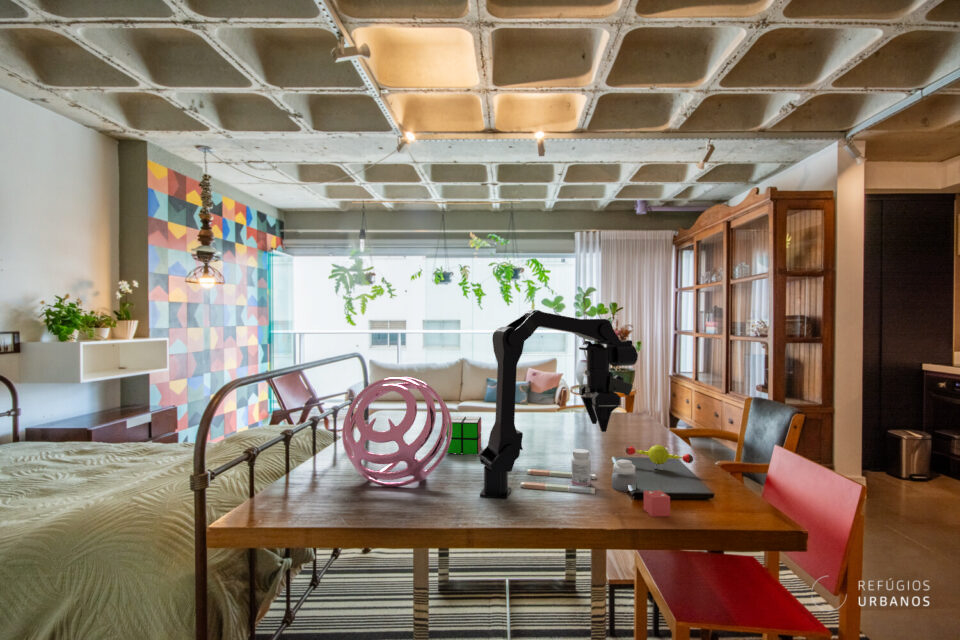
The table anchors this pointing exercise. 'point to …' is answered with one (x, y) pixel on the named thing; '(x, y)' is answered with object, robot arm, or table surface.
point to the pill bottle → (581, 468)
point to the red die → (656, 503)
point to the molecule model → (659, 454)
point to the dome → (624, 467)
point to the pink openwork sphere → (395, 433)
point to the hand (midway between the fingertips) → (598, 427)
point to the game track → (618, 483)
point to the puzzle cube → (465, 435)
